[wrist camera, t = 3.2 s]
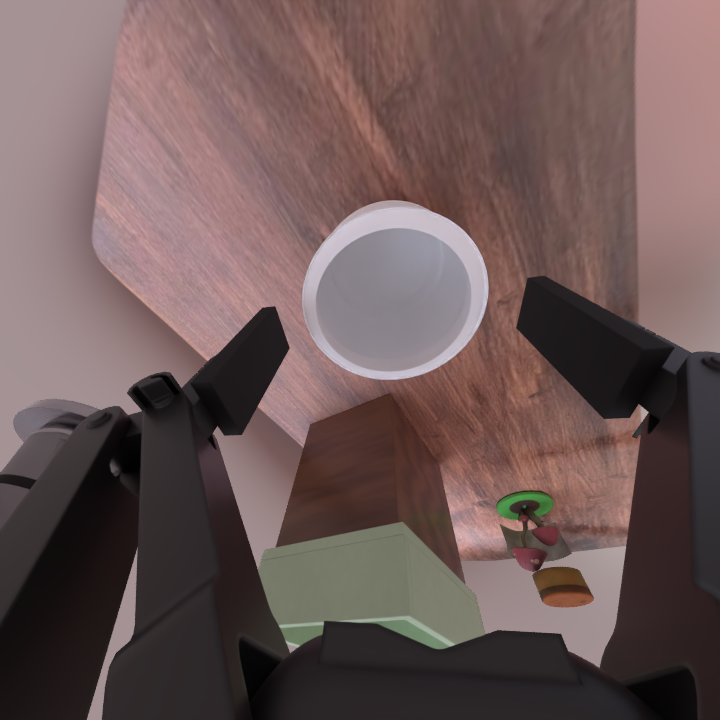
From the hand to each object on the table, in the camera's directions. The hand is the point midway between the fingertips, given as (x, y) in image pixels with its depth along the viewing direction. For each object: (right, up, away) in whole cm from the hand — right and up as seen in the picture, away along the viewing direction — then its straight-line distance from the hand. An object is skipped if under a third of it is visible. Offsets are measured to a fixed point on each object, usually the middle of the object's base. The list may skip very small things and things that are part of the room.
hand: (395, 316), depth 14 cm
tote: (0, -28, +16) cm, 32 cm away
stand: (+1, -18, +31) cm, 36 cm away
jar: (+1, +9, +13) cm, 16 cm away
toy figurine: (+32, -33, +39) cm, 60 cm away
